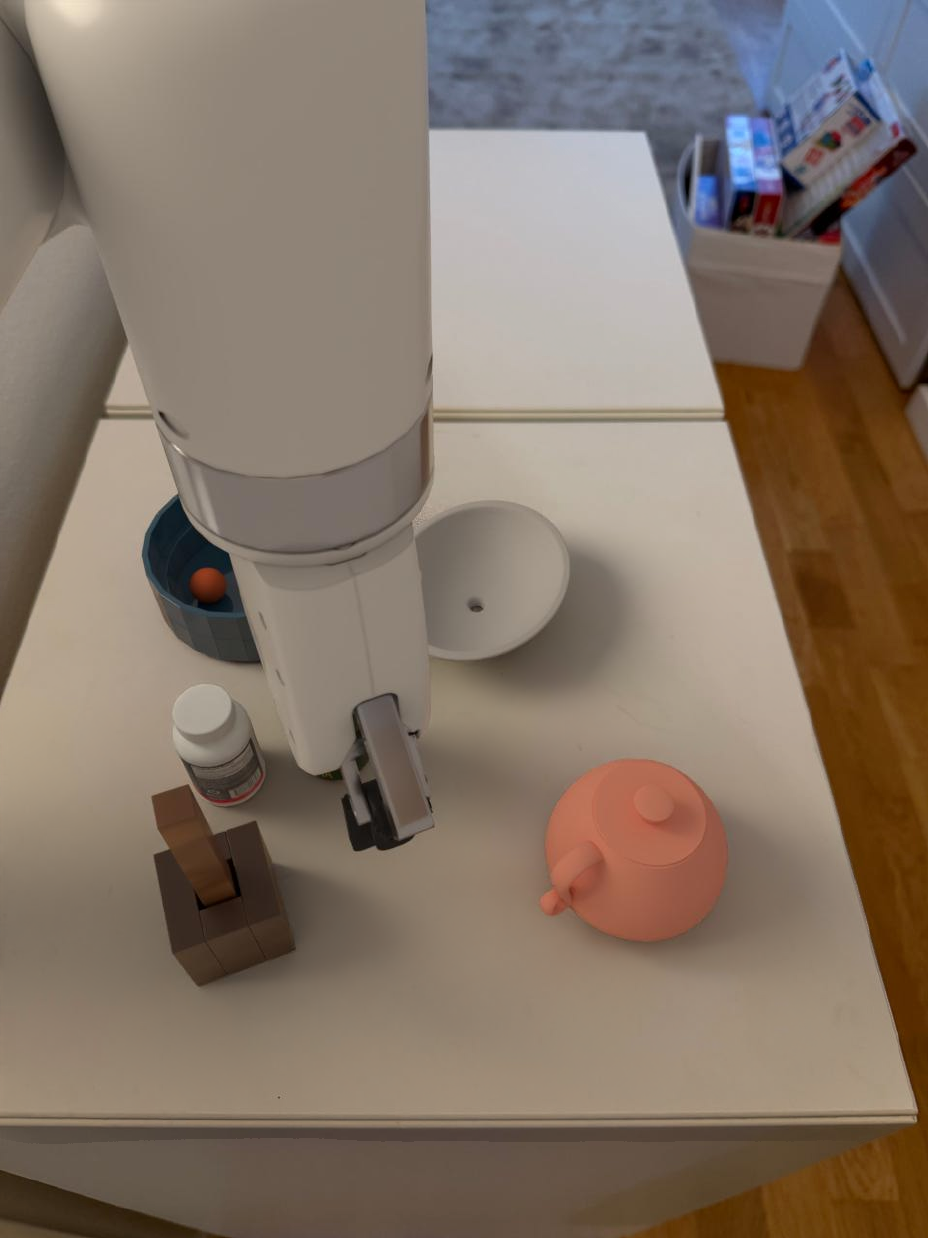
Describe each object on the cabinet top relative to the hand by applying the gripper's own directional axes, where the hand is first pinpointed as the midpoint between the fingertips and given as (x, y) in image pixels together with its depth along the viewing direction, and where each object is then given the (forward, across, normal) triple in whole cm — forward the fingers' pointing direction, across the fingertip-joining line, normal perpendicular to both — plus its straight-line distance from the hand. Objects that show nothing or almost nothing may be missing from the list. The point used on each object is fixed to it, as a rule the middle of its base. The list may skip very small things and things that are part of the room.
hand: (351, 735), depth 40 cm
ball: (+26, -33, -4) cm, 42 cm away
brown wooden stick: (+28, -5, -9) cm, 30 cm away
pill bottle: (+28, -16, -7) cm, 33 cm away
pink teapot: (+28, +2, +17) cm, 33 cm away
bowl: (+28, -33, 0) cm, 43 cm away
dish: (+28, -24, +16) cm, 40 cm away
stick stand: (+28, -5, -9) cm, 30 cm away
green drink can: (+28, -15, +1) cm, 32 cm away
